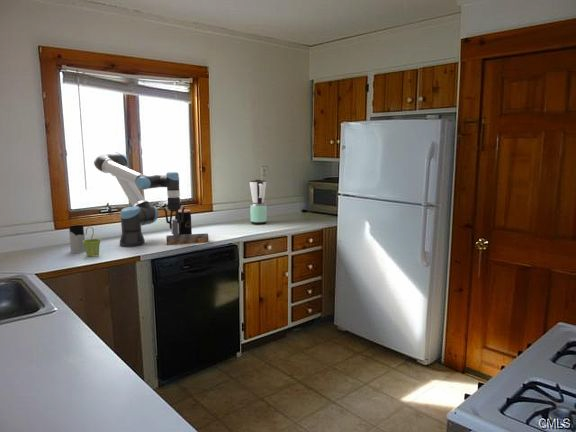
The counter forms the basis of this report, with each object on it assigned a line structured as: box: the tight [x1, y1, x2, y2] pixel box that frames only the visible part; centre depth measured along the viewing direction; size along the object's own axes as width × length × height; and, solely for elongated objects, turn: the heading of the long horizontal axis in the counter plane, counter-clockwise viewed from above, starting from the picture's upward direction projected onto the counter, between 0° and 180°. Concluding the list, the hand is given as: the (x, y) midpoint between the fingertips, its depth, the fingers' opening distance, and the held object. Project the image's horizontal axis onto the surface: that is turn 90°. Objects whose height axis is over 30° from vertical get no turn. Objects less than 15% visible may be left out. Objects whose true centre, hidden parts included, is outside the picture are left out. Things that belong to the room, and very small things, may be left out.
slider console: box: [165, 232, 210, 246], centre depth 281 cm, size 26×10×4 cm, turn 104°
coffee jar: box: [174, 208, 193, 235], centre depth 299 cm, size 11×11×18 cm
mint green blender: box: [249, 179, 268, 226], centre depth 347 cm, size 19×13×35 cm
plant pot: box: [83, 238, 102, 258], centre depth 247 cm, size 9×9×9 cm
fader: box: [171, 219, 178, 237], centre depth 278 cm, size 3×5×11 cm, turn 14°
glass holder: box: [68, 224, 95, 254], centre depth 259 cm, size 9×14×15 cm, turn 138°
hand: (175, 233), depth 279 cm, fingers closed on fader, 3 cm apart
